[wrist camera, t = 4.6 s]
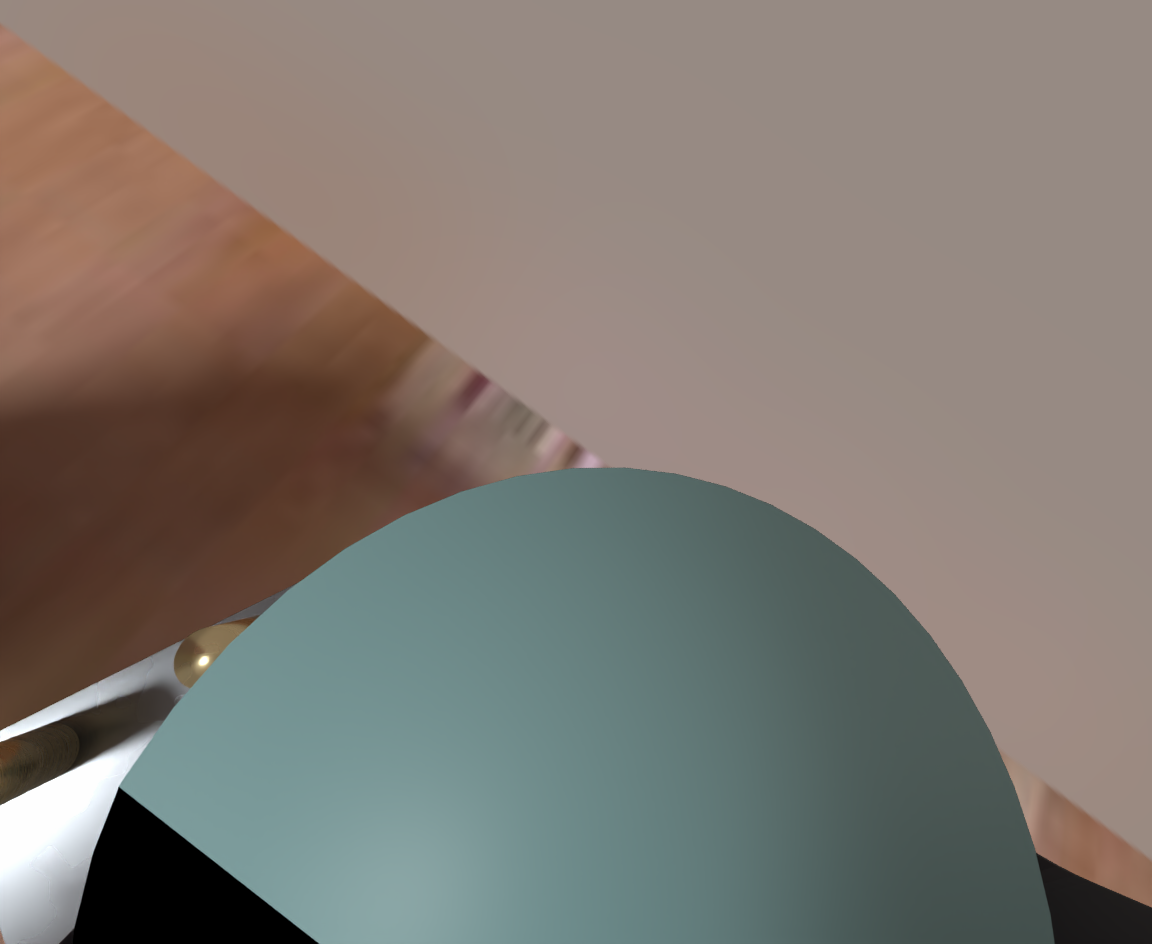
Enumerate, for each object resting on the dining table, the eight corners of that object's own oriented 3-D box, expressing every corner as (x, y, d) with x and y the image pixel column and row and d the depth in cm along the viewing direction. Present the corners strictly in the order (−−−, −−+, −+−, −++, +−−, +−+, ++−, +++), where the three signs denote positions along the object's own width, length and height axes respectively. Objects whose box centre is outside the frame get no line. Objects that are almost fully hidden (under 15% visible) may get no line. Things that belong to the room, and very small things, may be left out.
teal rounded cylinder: (628, 648, 15) (1216, 1091, 3) (490, 739, 14) (311, 2614, 1) (557, 515, 16) (753, 345, 3) (418, 590, 14) (-207, 812, 2)
